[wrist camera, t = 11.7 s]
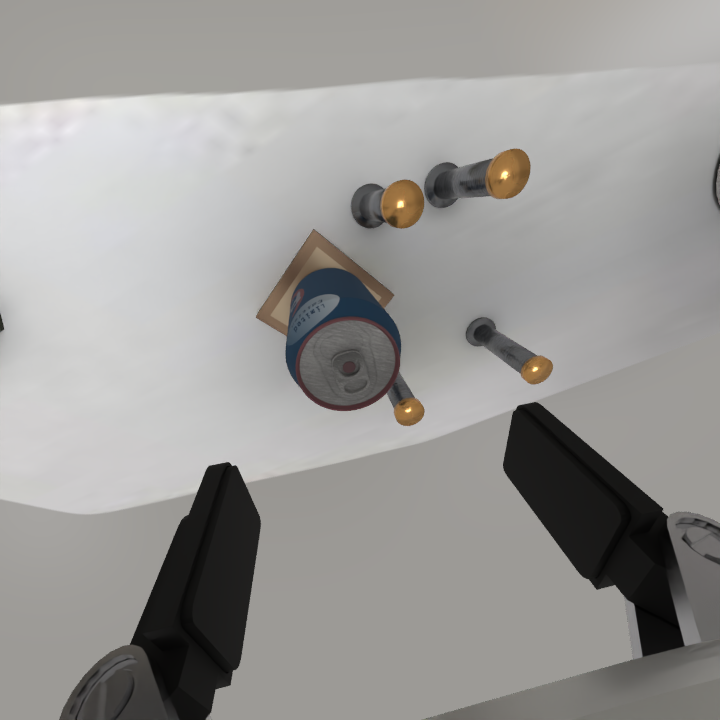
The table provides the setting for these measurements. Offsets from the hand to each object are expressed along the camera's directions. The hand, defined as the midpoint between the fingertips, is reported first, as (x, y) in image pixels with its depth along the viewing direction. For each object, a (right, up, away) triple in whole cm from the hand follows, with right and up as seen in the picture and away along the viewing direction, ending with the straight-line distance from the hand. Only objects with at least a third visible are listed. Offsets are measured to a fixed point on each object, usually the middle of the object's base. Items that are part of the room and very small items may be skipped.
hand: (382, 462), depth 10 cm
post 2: (+2, +3, +21) cm, 22 cm away
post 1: (0, +16, +14) cm, 22 cm away
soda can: (-4, +9, +16) cm, 19 cm away
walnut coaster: (-4, +9, +17) cm, 20 cm away
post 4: (+12, +7, +22) cm, 26 cm away
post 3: (+6, +18, +14) cm, 24 cm away
